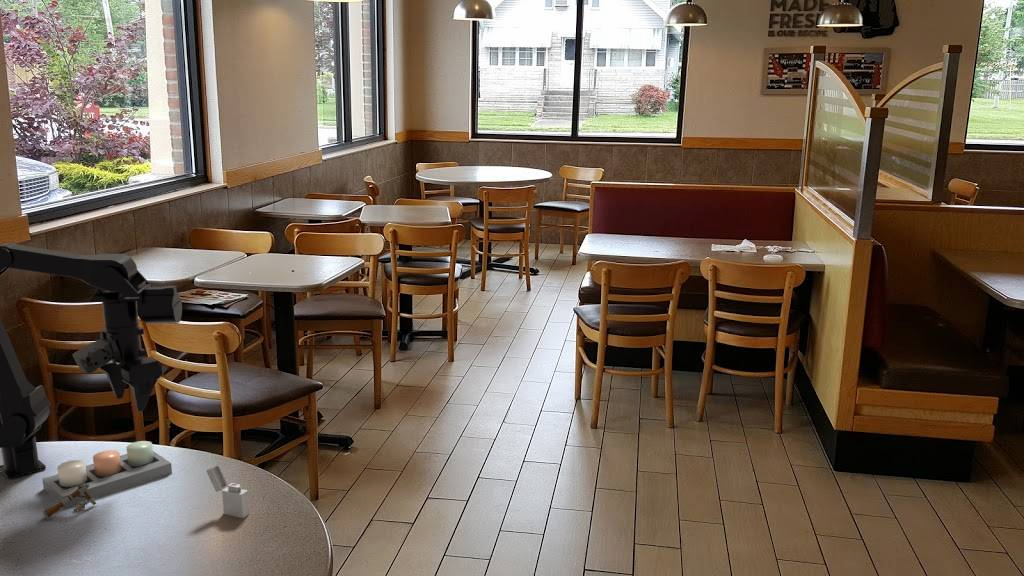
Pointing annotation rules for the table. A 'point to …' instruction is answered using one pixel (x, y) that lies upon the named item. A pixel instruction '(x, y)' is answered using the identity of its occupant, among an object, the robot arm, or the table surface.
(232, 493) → the lighter
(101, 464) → the terracotta button
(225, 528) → the table surface
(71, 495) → the wooden post with brackets
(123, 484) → the button panel
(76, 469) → the cream button
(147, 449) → the sage button
